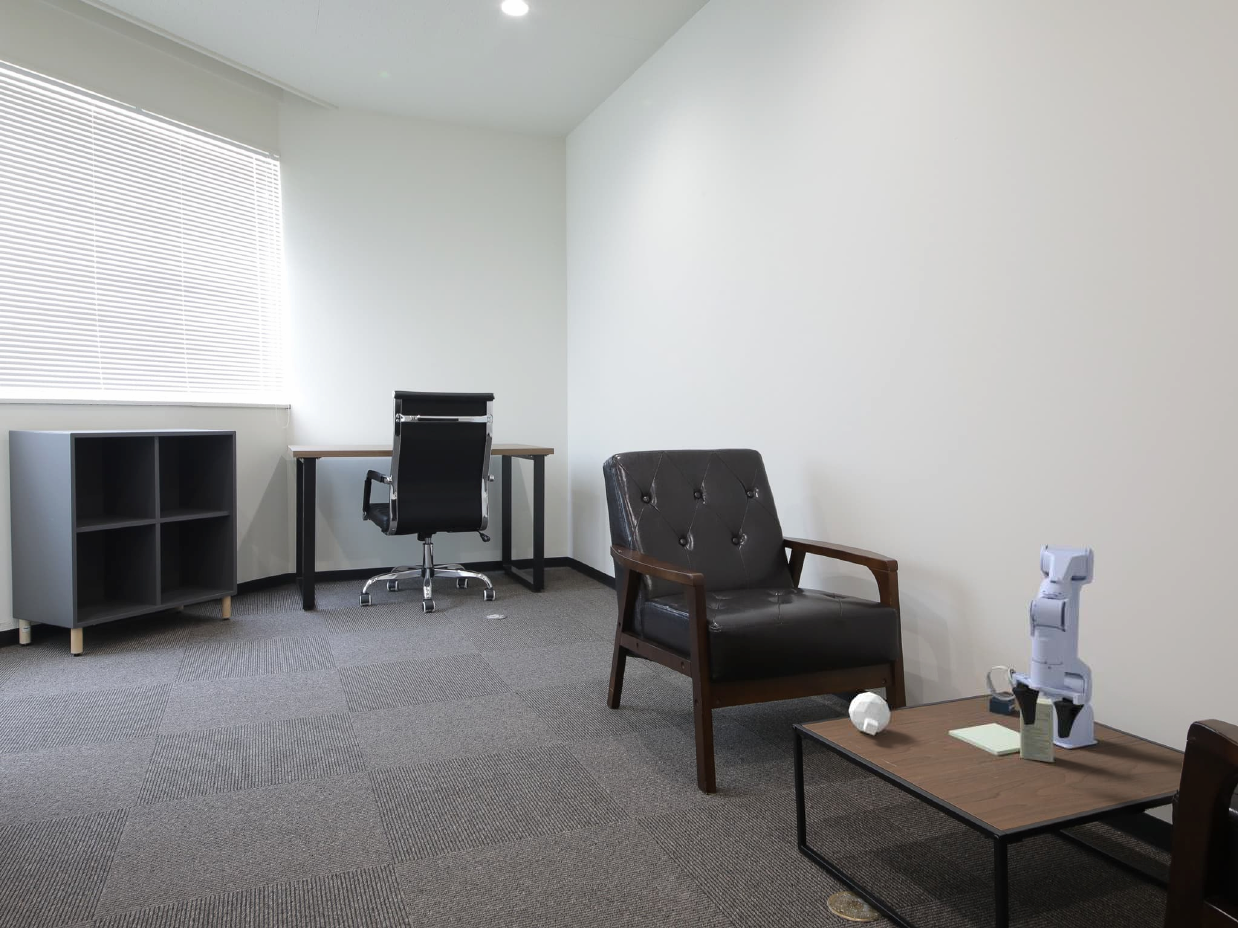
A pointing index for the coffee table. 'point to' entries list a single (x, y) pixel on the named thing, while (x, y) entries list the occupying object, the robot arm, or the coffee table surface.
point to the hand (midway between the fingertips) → (1046, 730)
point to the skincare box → (1038, 733)
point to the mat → (990, 738)
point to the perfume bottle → (869, 713)
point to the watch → (1001, 702)
